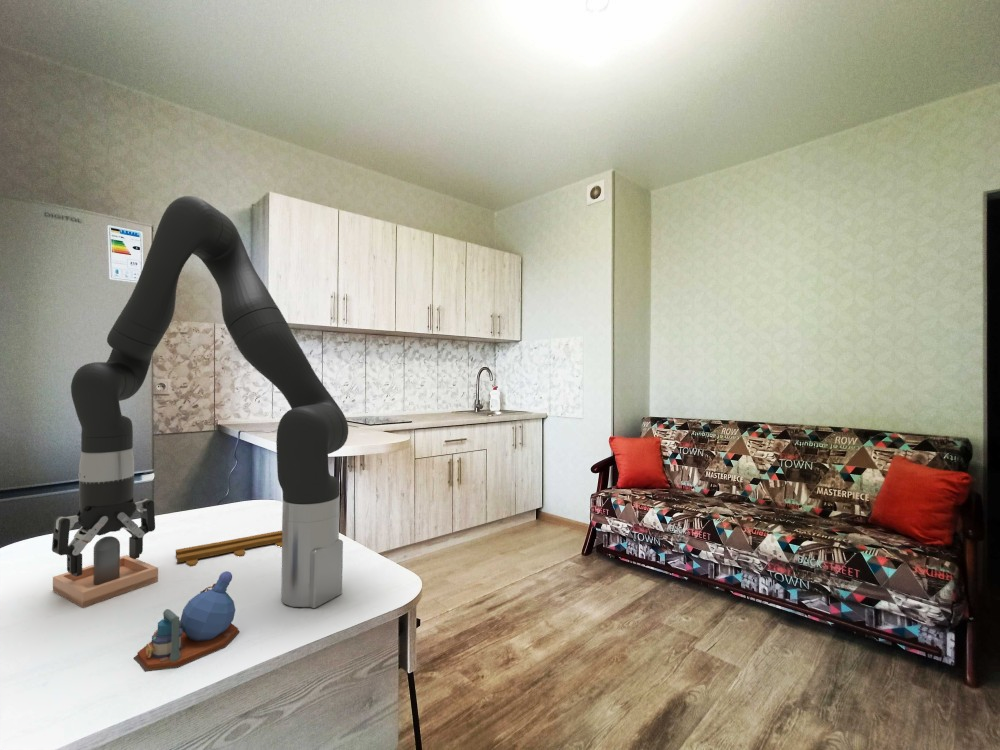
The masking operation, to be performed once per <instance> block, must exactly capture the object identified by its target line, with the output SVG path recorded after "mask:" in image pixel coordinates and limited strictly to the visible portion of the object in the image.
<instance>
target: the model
mask: <svg viewBox="0 0 1000 750" xmlns="http://www.w3.org/2000/svg"><path fill="white" fill-rule="evenodd" d="M232 580H233V573H232V572H230V571H229V570H228V571H223V572H221V573H220V574H219V577H218V579H217V580H216V583H213V584H212V586H208V587H206V588H204V589H203V590H201V591H200V592H199V593H197V594H196V595H195V596H194V597H192V598H191V599H190V600H188V602H187V603H186V605H185V606H184V608H183V609H182V612H181V617H180V616H178V615H176V614H175V612H173V611H172V610H171V609H165V610H163V613H162V614H163V619H161V620H159V621H158V622H157V629H156V630H155V631H154V632H153V635H151V641H150V642H149V643H147V644H146V645H144V647H142V649H140V650H139V651H138V652H137V654H136V655H134V657H133V660H134V661H136V663H137V664H138V665H139V666H140V667H141V669H142V670H143V671H144V672H145V673H146V672H154V671H162V670H172V669H178V668H181V667H184V666H186V665H188V664H190V663H193V662H195V661H197V660H200V659H203V658H205V657H207V656H209V655H211V654H214V653H216V652H218V651H221V650H223V649H226V648H227V647H228V646H229V645H230V644H231V643H232V642H233V641H234V640H235V639H236V638H237V636H238V635H239V634H240V633H241V631H240V630H239V627H237V626H236V625H235V624H233V621H234V618H235V615H236V614H235V613H236V606H235V601H234V600H233V599H232V597H231V596H230V595H229V593H228V592H227V590H228V589H227V588H228V587H229V585H230V584H231V581H232Z"/></svg>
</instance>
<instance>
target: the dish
mask: <svg viewBox="0 0 1000 750" xmlns="http://www.w3.org/2000/svg"><path fill="white" fill-rule="evenodd" d="M93 567H94V564H91V565H88V566H85V567H82V575H80V576H77V577H75V576H73V575H72V574H70V573H68V572H65V573H62V574H57V575H54V576H52V592H53V591H54V593H55V592H56V593H55V594H57V593H58V594H57V595H59V596H61V597H62V596H63V598H65V599H66V600H68V601H69V602H72V603H74V605H75V604H76V605H77V606H79V607H81V608H86V607H90V606H92V605H95V604H98V603H101V602H103V601H106V600H109V599H112V598H114V597H118V596H120V595H123V594H126V593H129V592H131V591H134V590H137V589H140V588H143V587H146V586H148V585H151V584H154V583H157V582H159V567H157V566H154V565H152V564H150V563H149V562H148V563H147V562H145V561H143V560H140V559H139V558H137V559H132V558H130V556H129V554H128V555H127V554H125V555H123V556H120V578H118V579H115V580H112V581H109V582H106V583H103V584H100V585H94V584H93Z"/></svg>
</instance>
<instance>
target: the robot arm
mask: <svg viewBox="0 0 1000 750" xmlns="http://www.w3.org/2000/svg"><path fill="white" fill-rule="evenodd" d="M192 255H195V256H196V257H198V258H199V260H201V262H202V263H203V264H204V265H205V267H206V268H207V270H208V271H209V272H210V274H211V276H212V277H213V279H214V282H216V284H217V287H218V289H219V292H220V298H221V299H220V300H221V313H222V318H223V321H224V325H225V328H226V330H227V331H228V333H229V335H230V336H231V339H232V341H233V342H234V344H235V345H236V347H237V349H238V351H239V352H240V354H241V355H242V357H243V358H244V359H245V360H246V361H247V362H248V363H249V364H250V365H251V366H252V367H253V368H254V369H255V370H256V371H257V372H258V373H260V374H261V375H262V376H263V377H264V378H265V379H267V380H268V381H269V382H270V383H271V384H272V385H273V386H275V387H276V388H277V389H278V390H279V391H280V392H281V394H282V395H283V396H284V398H285V400H286V402H287V403H288V404H289V406H290V408H291V409H289V410H287V411H286V412H285V413H284V414H283V415H282V416H281V419H280V420H279V423H278V425H277V429H276V430H277V431H276V441H275V442H276V445H275V446H276V465H277V467H276V468H277V471H276V473H277V480H278V485H279V486H280V488H281V491H282V519H281V523H282V525H281V529H282V530H281V531H282V548H281V589H280V590H281V592H280V593H281V595H280V597H281V602H282V603H283V604H285V605H287V606H290V607H293V608H294V607H295V608H306V607H307V608H312V609H316V608H318V607H320V606H321V605H323V604H325V603H327V602H329V601H330V600H333V599H334V598H336V597H338V596H340V595H342V594H343V557H344V556H343V554H344V553H343V552H344V551H343V549H344V541H343V540H342V539H340V538H339V537H340V535H339V533H340V532H339V531H340V493H341V492H340V491H341V490H340V489H341V485H340V484H341V483H340V480H339V478H337V477H336V476H333V475H332V474H330V469H329V455H331V454H333V453H335V452H337V451H339V450H340V449H341V448H343V446H345V444H346V442H347V440H348V436H349V424H348V420H347V418H346V416H345V414H344V413H343V412H344V411H342V409H341V408H340V406H339V405H338V403H337V402H336V401H335V399H334V398H333V396H332V395H331V394H330V393H329V391H328V390H327V388H326V387H325V386H324V383H322V381H321V380H320V378H319V377H318V375H317V374H316V372H315V370H314V369H313V367H312V365H311V363H310V361H309V360H308V357H307V356H306V354H305V352H304V351H303V349H302V347H301V346H300V344H299V342H298V341H297V339H296V337H295V335H294V333H293V331H292V329H291V327H290V325H289V324H288V322H287V320H286V319H285V317H284V315H283V313H282V312H281V310H280V307H278V305H277V304H276V302H275V300H274V299H273V297H272V296H271V293H270V292H269V291H268V289H267V287H266V285H265V283H264V282H263V280H262V279H261V277H260V275H258V273H257V271H256V269H255V267H254V265H253V263H252V261H251V259H250V256H249V254H248V252H247V249H246V247H245V245H244V242H243V240H242V237H241V235H240V233H239V231H238V228H237V227H236V225H235V224H234V222H233V221H232V219H230V218H229V217H228V216H227V215H226V214H224V213H223V212H222V211H220V210H218V208H216V207H214V206H213V205H211V204H210V203H208V202H207V201H205V200H204V199H203V198H200V197H198V196H194V195H193V196H192V195H184V196H181V197H178V198H177V199H175V200H173V201H172V202H171V203H170V204H169V205H168V206H167V207H166V208H165V211H164V212H163V214H162V216H161V219H160V221H159V224H158V227H157V229H156V231H155V234H154V237H153V240H152V242H151V245H150V248H149V250H148V253H147V255H146V258H145V260H144V263H143V266H142V269H141V272H140V275H139V277H138V280H137V282H136V284H135V287H134V289H133V291H132V293H131V295H130V297H129V299H128V300H127V303H126V304H125V306H124V307H123V309H122V310H121V312H120V314H119V315H118V317H117V318H116V321H115V322H114V324H113V325H112V327H111V329H110V331H109V332H108V334H107V339H106V342H107V345H108V346H110V348H111V351H110V354H109V357H108V359H107V360H106V361H103V362H101V361H100V362H99V361H98V362H94V361H93V362H90V363H86V364H84V365H82V366H80V367H79V368H78V369H77V370H76V371H75V373H73V376H72V381H71V383H70V393H71V398H72V403H73V406H74V411H75V412H76V416H77V420H78V421H79V424H80V426H81V437H80V438H81V442H80V443H81V447H80V449H81V450H80V451H81V452H80V458H79V466H78V475H77V477H78V507H79V509H78V511H77V513H76V514H75V515H71V516H61V515H58V516H56V517H55V518H54V520H53V521H54V522H53V531H52V533H53V534H52V545H51V551H52V552H53V553H54V554H57V555H59V556H66V571H67V573H70V574H72V575H73V576H75V577H77V576H80V575H82V568H83V554H82V551H83V550H84V549H85V547H87V545H88V544H89V543H91V542H92V541H93V539H94V538H95V537H96V536H103V535H106V534H108V533H110V532H112V533H114V532H120V531H121V529H123V530H125V531H126V532H127V533H129V534H130V535H131V536H129V538H128V542H129V545H128V546H129V547H128V556H130V558H132V559H139V558H140V555H142V554H143V551H144V549H143V548H144V547H143V546H144V536H145V535H146V534H147V533H151V532H154V531H155V529H156V518H155V517H156V516H155V502H154V501H153V500H151V499H149V498H143V497H142V498H141V499H140V500H138V501H136V502H135V501H134V498H135V457H134V449H133V448H134V446H133V444H134V440H133V439H134V437H133V436H134V431H133V429H134V428H133V422H132V420H131V418H129V417H128V416H125V415H122V410H121V406H120V402H121V401H125V400H128V399H130V398H132V397H134V396H135V394H137V392H138V391H139V390H140V389H141V387H142V386H143V384H144V382H145V380H146V377H147V374H148V372H149V369H150V365H151V362H152V357H153V353H154V351H155V350H156V349H157V347H158V346H159V344H160V342H161V341H162V339H163V337H164V335H165V334H166V332H167V331H168V330H169V329H168V328H169V326H170V325H171V323H172V320H173V319H174V318H173V317H174V314H175V308H176V298H177V297H176V296H177V287H178V283H179V278H180V275H181V272H182V270H183V269H184V266H185V265H186V263H187V261H188V260H189V258H190V257H191V256H192ZM136 510H137V512H139V513H140V526H139V525H138V524H137V523H136V522H134V521H133V520H132V519H131V517H132V516H133V514H134V513H135V512H136ZM76 523H78V524H79V525H80V528H79V529H78V530H77V532H76V533H75V534H74V536H73V539H72V540H71V541H70V543H69V538H70V530H72V529H73V528H74V526H75V524H76Z"/></svg>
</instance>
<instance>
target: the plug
mask: <svg viewBox="0 0 1000 750" xmlns="http://www.w3.org/2000/svg"><path fill="white" fill-rule="evenodd" d="M120 557H121V542H120V540H119V539H118V538H117V537H115V536H112V535H108V536H103V537H102V538H99V540H97V541H96V543H95V544H94V546H93V565H94V567H93V584H94V585H100V584H103V583H106V582H109V581H112V580H115V579H118V578H120Z"/></svg>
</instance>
